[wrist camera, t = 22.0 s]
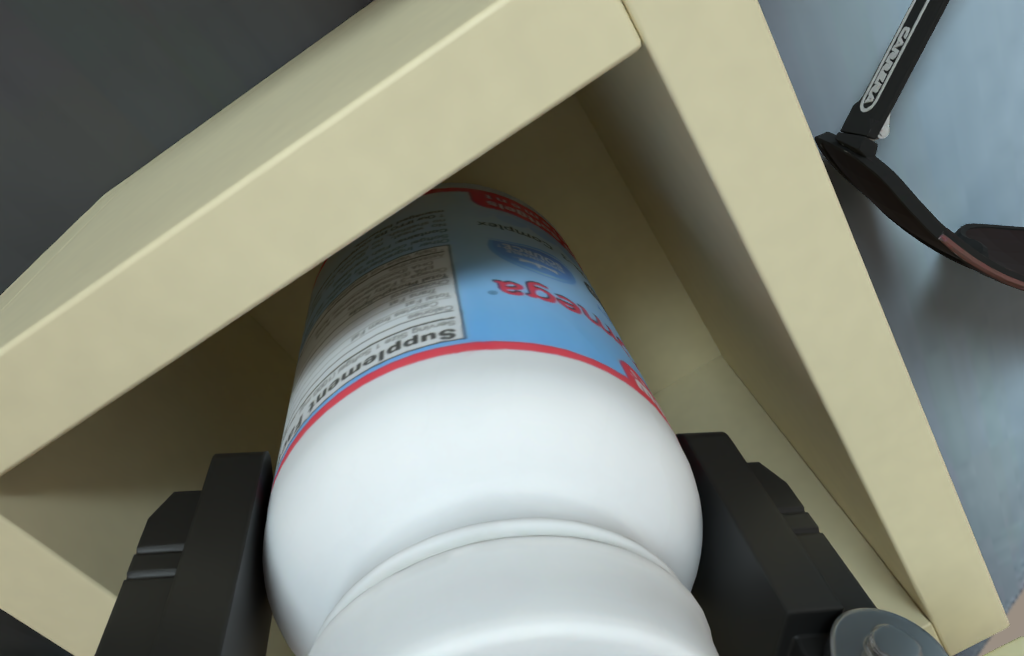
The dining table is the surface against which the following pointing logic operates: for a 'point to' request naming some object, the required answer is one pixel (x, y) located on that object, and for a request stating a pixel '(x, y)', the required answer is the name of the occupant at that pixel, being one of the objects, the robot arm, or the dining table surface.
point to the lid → (1009, 649)
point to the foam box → (537, 182)
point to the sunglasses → (980, 247)
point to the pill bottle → (476, 455)
